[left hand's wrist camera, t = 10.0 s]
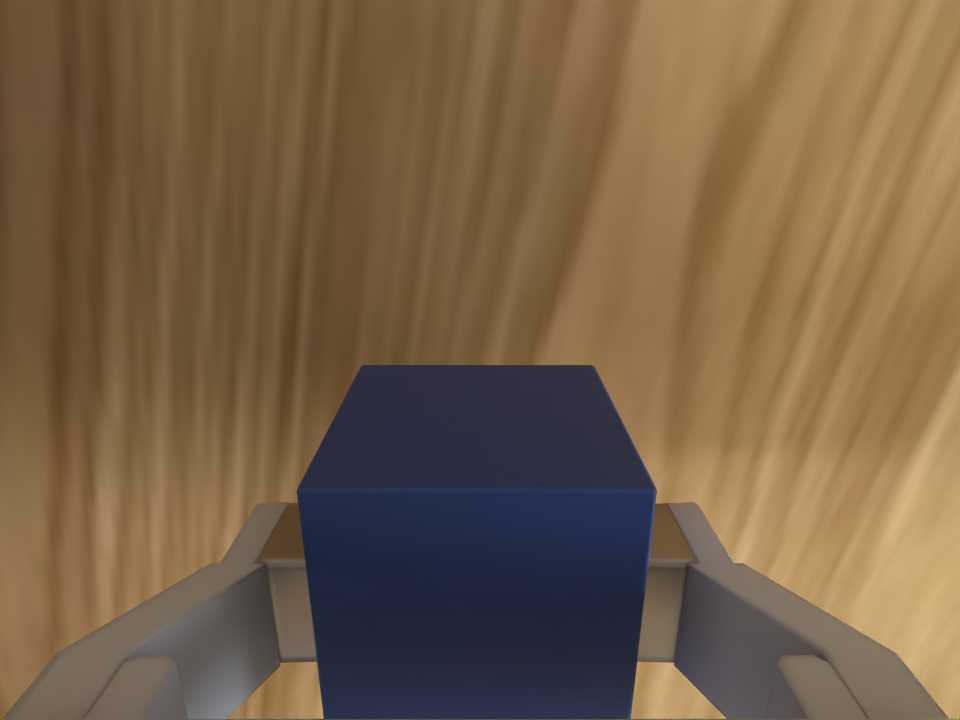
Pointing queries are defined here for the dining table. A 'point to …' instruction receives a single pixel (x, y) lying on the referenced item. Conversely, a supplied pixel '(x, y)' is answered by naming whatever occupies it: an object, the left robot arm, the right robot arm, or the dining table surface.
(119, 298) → the dining table surface
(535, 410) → the brick
